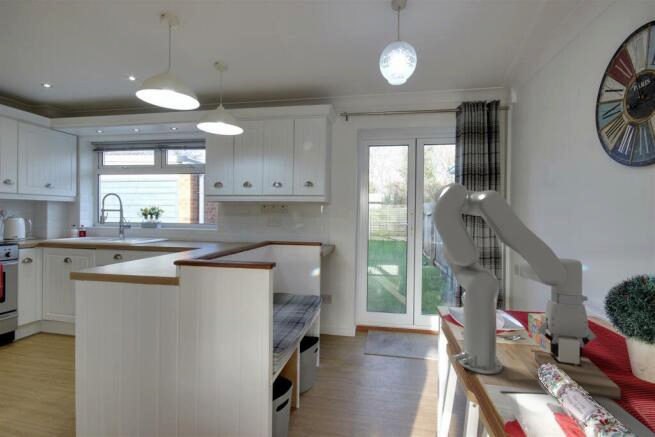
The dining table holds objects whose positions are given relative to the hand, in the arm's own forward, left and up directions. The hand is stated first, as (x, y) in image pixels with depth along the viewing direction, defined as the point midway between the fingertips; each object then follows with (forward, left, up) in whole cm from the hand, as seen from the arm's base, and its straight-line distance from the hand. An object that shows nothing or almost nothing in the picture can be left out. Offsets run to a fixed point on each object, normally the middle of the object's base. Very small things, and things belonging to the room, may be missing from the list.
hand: (565, 356), depth 93 cm
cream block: (0, 0, -1) cm, 1 cm away
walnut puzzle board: (-3, -4, -4) cm, 6 cm away
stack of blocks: (+12, +12, -5) cm, 18 cm away
